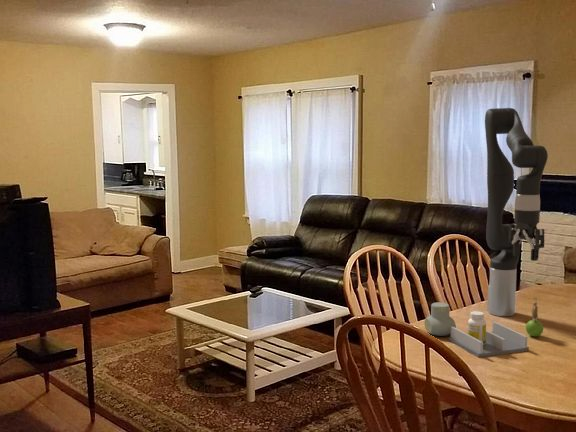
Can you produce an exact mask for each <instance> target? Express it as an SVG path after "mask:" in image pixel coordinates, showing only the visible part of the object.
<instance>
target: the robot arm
mask: <svg viewBox="0 0 576 432" xmlns="http://www.w3.org/2000/svg"><path fill="white" fill-rule="evenodd" d="M484 116H485V117H484V131H485V142H486V157H487V158H486V160H487V161H486V164H487V165H486V171H487V172H486V174H487V176H486V181H487V182H486V183H487V184H486V185H487V215H486V217H487V218H486V229H485V233H486V234H485V239H486V243H487V246H488V248H489V249H490V250H493V251H500V253H499V254H498V255H496V256H494V257H493V258H491V259H490V261H489V283H488V284H489V285H488V286H487V302H486V306H487V307H486V311H488V313H489V314H491V315H494V316H497V317H512V316H514V315H516V314H515V313H516V312H515V311H516V297H517V296H516V292H517V268H518V267H517V265H518V264H519V260H520V255H521V243H522V241H523V240H524V241H526V242H527V244H529V246H530V248H531V249H530V261H532V262H536V261H538V260H539V257H540V254H539V253H540V252H539V251H540V249H543V248H545V229H544V228H538V227H537V225H538V224H539V223H540V217H541V213H540V212H541V197H540V196H541V194H540V193H541V191H540V190H541V181H542V177H543V174H544V173H543V172H544V170H545V167H546V164H547V161H548V158H549V154H548V151H547V149H546V148H545V147H544V146H543V145H534V142H533V140H532V139H531V137H530V136H529V135H528V134H527V132H526V130H525V129H524V128H525V127H524V125H523V122H522V120H521V118H520V115H519V113H518V111H517V110H516V109H515V108H512V107H504V108H503V107H500V108H497V107H496V108H489V109H487V110H486V111H485V115H484ZM505 134H506V138H505V142H506V146H507V147H508V148H509V150H510V152H511V162H512V164H511V162H510V161H509V159H508V158H507V157H506V155H505V154H504V152H503V150H502V149H501V146H500V145H499V141H498V137H497V135H505ZM512 165H513V166H515V167H516V168H519V169H532V170H531V171H530V172H529V173H528V174H524V175H520V176H517V178H516V187H515V171H514V167H513V166H512ZM514 188H516V190H515V200H514V215H513V217H514V219H513V220H514V223H505V224H504V223H503V214H504V210H505V207H506V205H507V204H508V202H509V200H510V198H511V196H512V194H513V193H514Z"/></svg>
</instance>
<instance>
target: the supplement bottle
mask: <svg viewBox="0 0 576 432" xmlns="http://www.w3.org/2000/svg"><path fill="white" fill-rule="evenodd" d="M484 318H485V313H484V312H482V311H477V310H474V311H471V312H470V318H469V319H468V321H467V334H468V335H470V336H472V337H474V338H476V339H478V340H480V341H482V342H483V345H485V344H486V330H487V321H486V320H485V319H484Z"/></svg>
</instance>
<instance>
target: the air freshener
mask: <svg viewBox="0 0 576 432" xmlns="http://www.w3.org/2000/svg"><path fill="white" fill-rule="evenodd" d="M430 306H431V307H430V309H431V310H430V315H428V316H427V317H426V318H425V319H424V322H423V323H424V327H425V330H426V332H428V333H429V334H430V335H432V336H437V337H445V336H446V337H447V336H451V327H455V328H457V324H456V322H455V320H454V318H453V317H451V316H450V305H449V304H448V303H447V302H440V301H439V302H433V303H431V305H430Z"/></svg>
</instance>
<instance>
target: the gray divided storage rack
mask: <svg viewBox="0 0 576 432" xmlns="http://www.w3.org/2000/svg"><path fill="white" fill-rule="evenodd" d="M448 341H449V342H451V343H452V344H454V345H456V346H457V347H459V348H461V349H463V350H465V351H466V352H468V353H470V354H472V355H474V356H475V357H477V358H484V357H490V356H498V355H506V354H512V353H520V352H526V351H529V348H530V347H529V346H528V336H527V335H525V334H523V333H520V332H519V331H516V330H514V329H512V328H511V327H508V326H505V325H504V324H501V323H499V322H496V321H492V331H489V330H488V329H486V344H485V345H483V342H482V341H480V340H478V339H476V338H474V337H472V336H470V335H468V333H466V332H465V331H463V330H460V329H459V328H457V327H456V328H455V327H451V334H450V336H449V337H448Z"/></svg>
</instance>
